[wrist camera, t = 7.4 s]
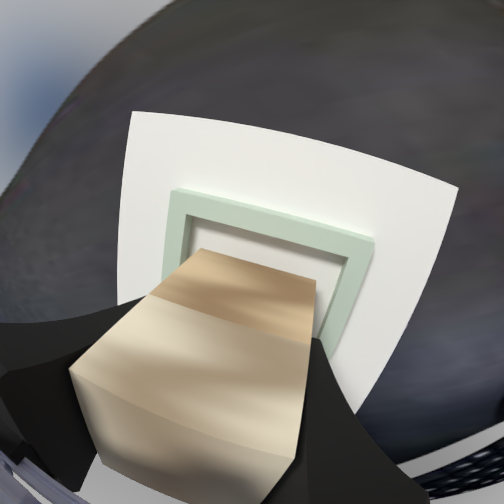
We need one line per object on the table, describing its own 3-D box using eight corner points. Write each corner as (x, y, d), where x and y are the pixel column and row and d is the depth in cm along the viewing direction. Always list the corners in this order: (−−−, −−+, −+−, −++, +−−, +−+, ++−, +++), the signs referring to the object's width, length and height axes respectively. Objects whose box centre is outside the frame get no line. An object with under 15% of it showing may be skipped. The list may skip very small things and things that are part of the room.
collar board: (448, 185, 11) (466, 190, 9) (344, 417, 16) (344, 440, 14) (144, 113, 12) (121, 110, 11) (128, 350, 17) (114, 366, 16)
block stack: (316, 280, 11) (294, 458, 4) (285, 368, 13) (246, 520, 6) (200, 247, 12) (68, 368, 5) (189, 338, 13) (102, 463, 7)
